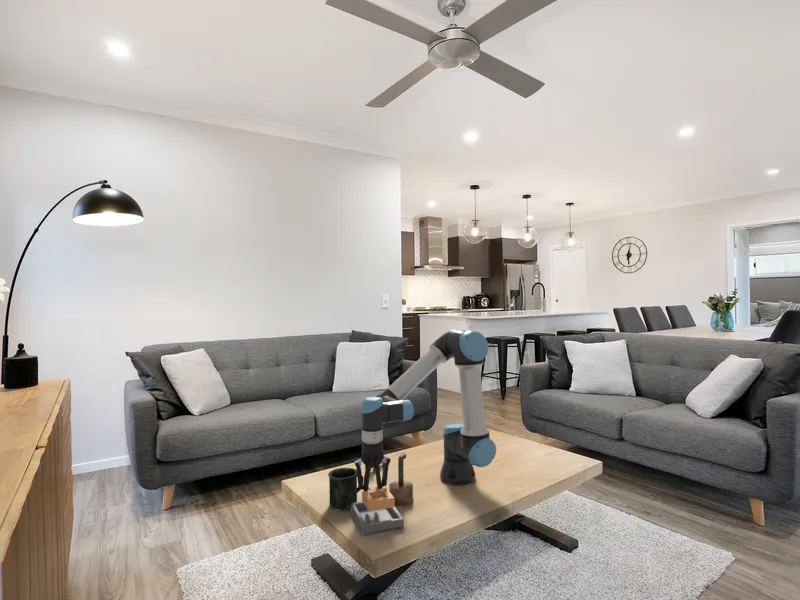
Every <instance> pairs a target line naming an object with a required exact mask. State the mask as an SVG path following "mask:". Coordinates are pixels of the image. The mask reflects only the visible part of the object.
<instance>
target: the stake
mask: <svg viewBox="0 0 800 600" xmlns="http://www.w3.org/2000/svg"><path fill="white" fill-rule="evenodd" d="M406 458H407V453H402V454H400V455H399V456H398V459H397V460H398V461H397V466H398V467H397V469H398V471H397V472H398V474H397V475H398V476H397V477H398V480H393V481H392V482H390V483H389V485H388V487H389V489H388V490H389V492H390V493H391V494H392V496H393V497H394V499H395V507H396V506H398V507H405V506H410V505H411V504H412V503H413V502H414V487H413V486H414V485H413V483H412V482H411V481H408V480H405V479H404V478H405V476H404V475H405V474H404V460H405V459H406Z"/></svg>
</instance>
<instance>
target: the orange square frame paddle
mask: <svg viewBox="0 0 800 600" xmlns="http://www.w3.org/2000/svg"><path fill="white" fill-rule="evenodd" d="M368 488H369V490H370V491H364V490H362V493H361V502H362V501H363V502H364V504H365V506H366V507H367V509H368V511H374V510H380V509H386V508H392V507H395V508H396V505H395V499H394V497H393V496H392V494H391V493H390V492H389V489H388V488H387V487H385V488H384V487H383V488H382V489H377V485H375V484H374V483H373V484H369V486H368Z"/></svg>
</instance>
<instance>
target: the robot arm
mask: <svg viewBox="0 0 800 600" xmlns="http://www.w3.org/2000/svg"><path fill="white" fill-rule="evenodd" d="M428 348H429V349H428V350H427V351H426V352H425V353H423V354H422V356H421V357H419V358H418V359H417V360H416V361H415V362H414V363H413V364H412V365H411V366H410V367H409V368H407V370H406V371H405V372H404V373H402V374H401V375H400V376H399V377H398V378H397V379H396V380H395V381H394V382H392V384H390V385H389V386H388V387H387V388H386V389H385V390H384V391H383V392H379V393H376V394H374V395H373V396H368V397H365V398H363V399H362V401H361V441H362V442H361V455H360V458H359V459H357V460H354V461H353V463H354V465H355V467H356V468H355V470H357V487H358V486H359V488H360V489H361V490H360V491H370V490H369V488H368V486H369V485H370V476H371V471H372V469H373V467H374V468H375V481H376V487H377V489H384V487H386V486H387V485H388V475H389V466H390V463H391V460H392V459H391V458H390V457H389V456H385V455H384V447H383V446H384V444H383V443H384V442H383V440H384V437H383V436H384V435H383V434H384V433H383V429H384V427H383V426H384V425H383V424H389V423H398V422H399V423H400V422H406V421H410V420H412V418H413V417H414V414H415V412H414V406H413V403H412V401H410V400H409V399H405V398H406V397H407V396H408V395H410V394H411V392H412V391H413V390H414V389H416V387H418V386H419V385H420V384H421V383H422V382H423V381H424V380H425V379H427V377H428V376H429V375H430V374H432V372H433V371H434V370H436V369H437V368H438V367H440V365H441V364H446V363H447V362H448V361H449V360H450V359H454V365H455V366H456V367H457V369H458V374H459V384H460V385H459V386H460V398H461V399H460V400H461V411H462V423H452V424H447V425H445V427H444V428H443V434H442V435H443V463H442V466H441V469H440V473H439V479H440V481H441V482H443V483H445V484H447V485H451V484H452V486H466V485H467V484H468V485H471V484H473V483H474V482H476V472H475V469H474V466H475V467H477V468H485V467H487V466H489V465H490V464H491V463H492V461H493V460H494V459H495V458H496V455H497V445H496V443H495V442H494V440H492V439H491V437H490V429H489V428H488V427H487V426H486V422H485V412H484V411H485V410H484V398H483V385H482V373H481V368H482V366H483V365H484V364H485V362H484V361H485V360H484V359H485V358H486V357H487V354H488V351H489V343H488V340H487V338H486V337H485V336H484V335H483V334H482V333H481V332H480V331H477V330H473V329H455V328H454V329H451V330H449V331H448V330H447V332H445V333H443V334H442V335H440V336H439V338H437V339H436V340H434V342H432V344H430V345H429V347H428ZM382 460H383V462H384V463H383V467H382V476H381V468H380V467H381V466H380V465H381V464H382V463H381V462H382ZM362 463H363V465H364V466H365V467H364V475H363V473H362V467H361V466H362ZM380 463H381V464H380ZM362 476H363V479H364V480H363V481H362ZM470 483H471V484H470Z"/></svg>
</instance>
